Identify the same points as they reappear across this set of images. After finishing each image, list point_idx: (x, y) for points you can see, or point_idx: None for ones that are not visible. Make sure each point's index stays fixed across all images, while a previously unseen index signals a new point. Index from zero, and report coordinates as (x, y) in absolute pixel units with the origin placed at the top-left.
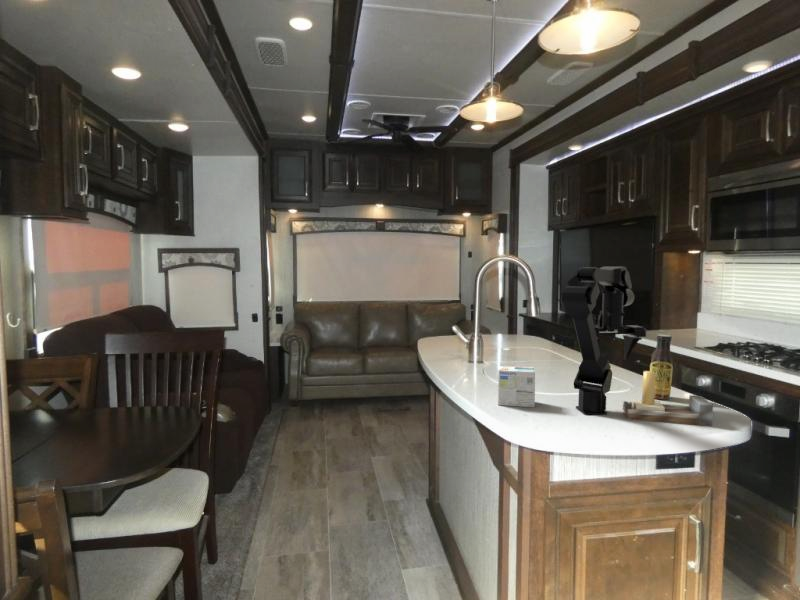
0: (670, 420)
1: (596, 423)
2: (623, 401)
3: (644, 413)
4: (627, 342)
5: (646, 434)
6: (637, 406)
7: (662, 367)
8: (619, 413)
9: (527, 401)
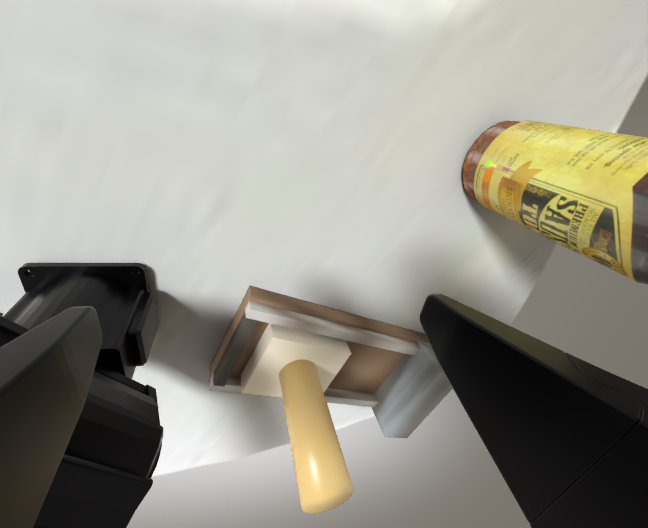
0: None
1: None
2: (248, 313)
3: None
4: (591, 484)
5: (194, 447)
6: (244, 391)
7: (596, 259)
8: (211, 322)
9: None
